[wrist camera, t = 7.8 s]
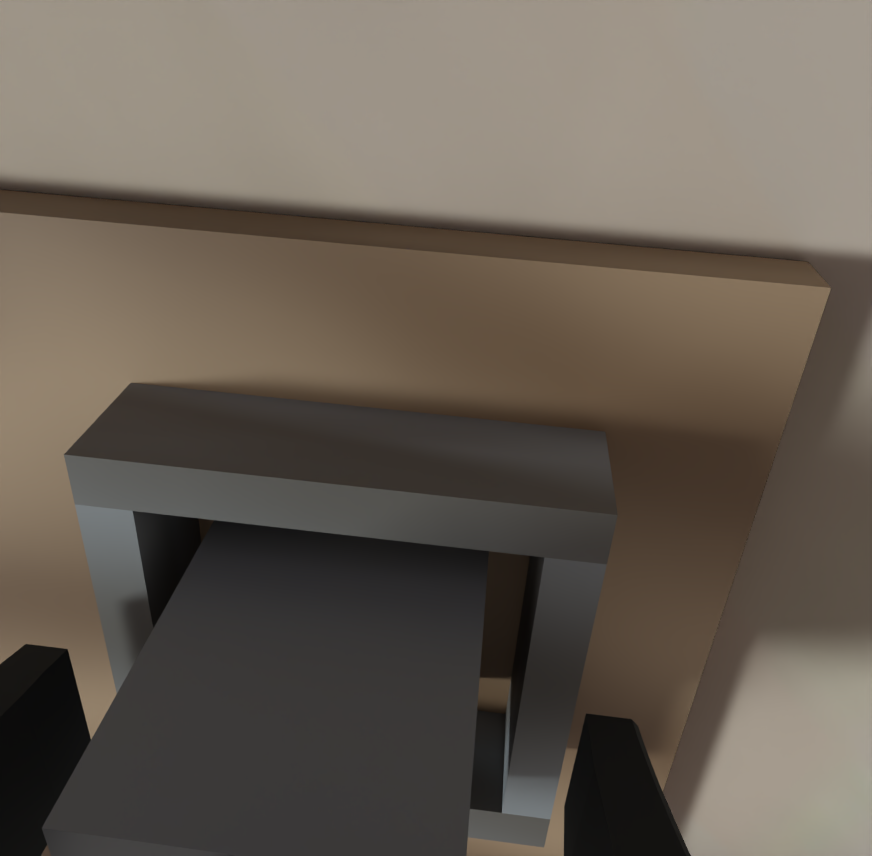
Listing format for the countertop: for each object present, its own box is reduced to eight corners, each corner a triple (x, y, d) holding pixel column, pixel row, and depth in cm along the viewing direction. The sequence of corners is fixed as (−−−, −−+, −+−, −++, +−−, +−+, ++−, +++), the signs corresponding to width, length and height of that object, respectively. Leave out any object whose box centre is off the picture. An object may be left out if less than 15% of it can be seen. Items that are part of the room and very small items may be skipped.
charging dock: (609, 896, 19) (621, 1040, 17) (52, 819, 20) (-18, 946, 18) (807, 261, 11) (891, 356, 8) (-154, 176, 12) (-345, 238, 9)
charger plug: (471, 677, 14) (427, 1188, 8) (256, 650, 15) (65, 1130, 9) (493, 500, 12) (454, 1011, 6) (241, 472, 13) (-22, 939, 7)
